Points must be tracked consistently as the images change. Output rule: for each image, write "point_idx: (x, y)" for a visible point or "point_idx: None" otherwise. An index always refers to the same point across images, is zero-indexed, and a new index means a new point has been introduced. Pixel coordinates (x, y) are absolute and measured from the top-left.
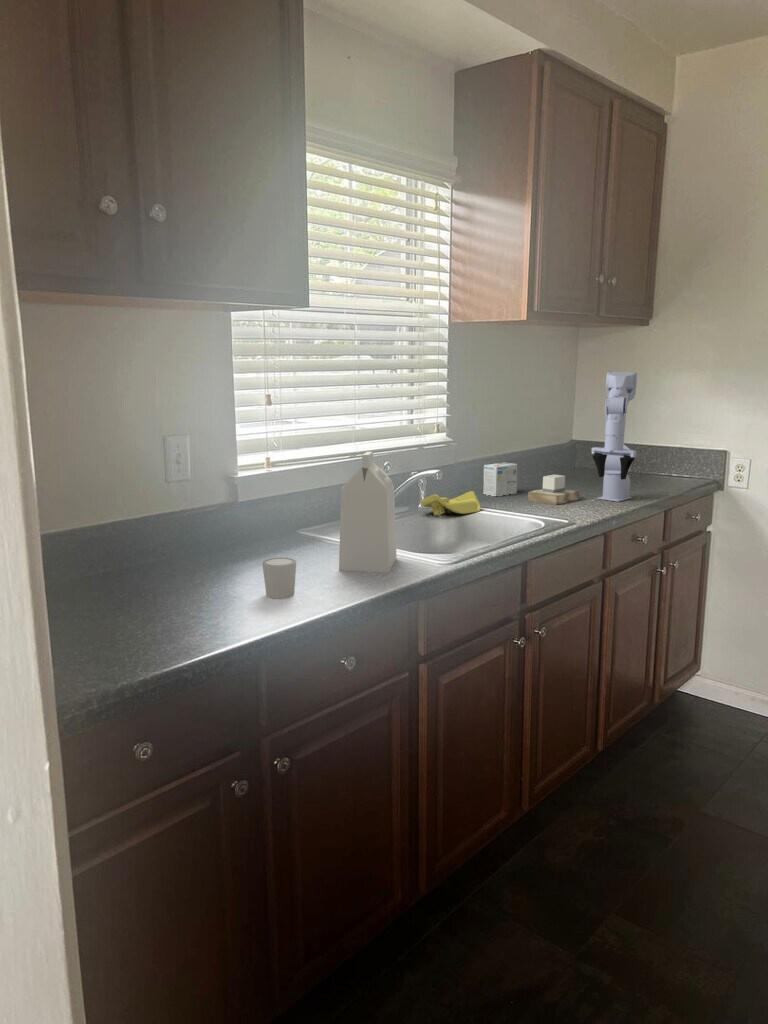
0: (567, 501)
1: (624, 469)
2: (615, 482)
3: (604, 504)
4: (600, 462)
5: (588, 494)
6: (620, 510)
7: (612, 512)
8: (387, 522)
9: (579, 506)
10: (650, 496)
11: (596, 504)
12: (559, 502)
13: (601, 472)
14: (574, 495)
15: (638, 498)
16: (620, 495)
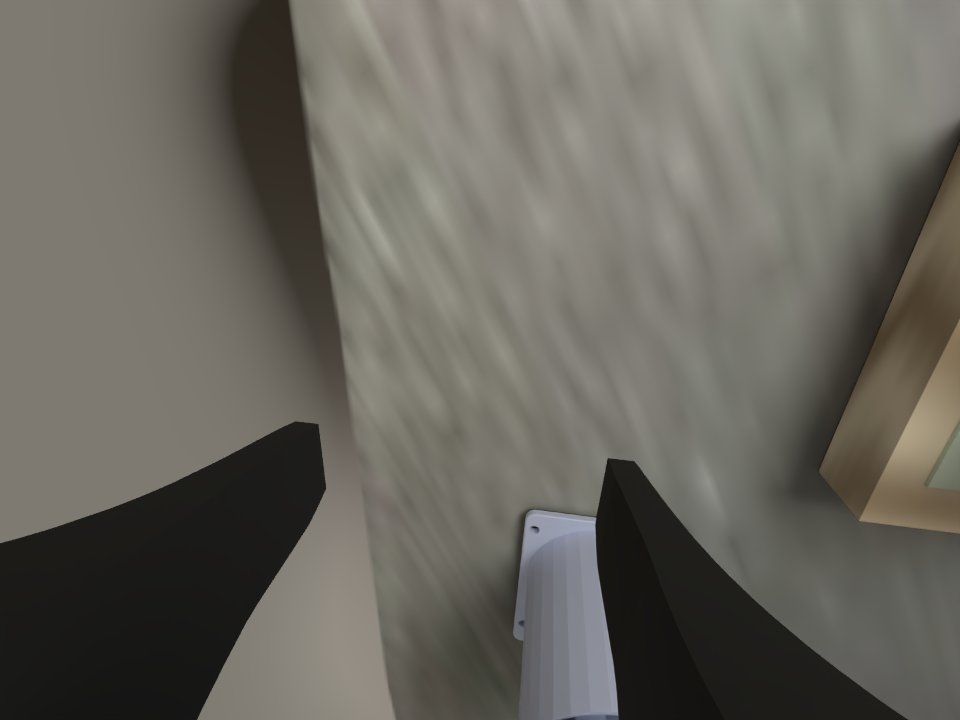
0: (888, 318)
1: (161, 488)
2: (568, 644)
3: (574, 396)
4: (662, 653)
5: None
6: (379, 252)
7: (380, 127)
8: None
9: (721, 197)
10: (467, 706)
11: (625, 364)
12: (958, 176)
13: (613, 516)
14: (867, 437)
15: (489, 646)
16: (535, 572)
